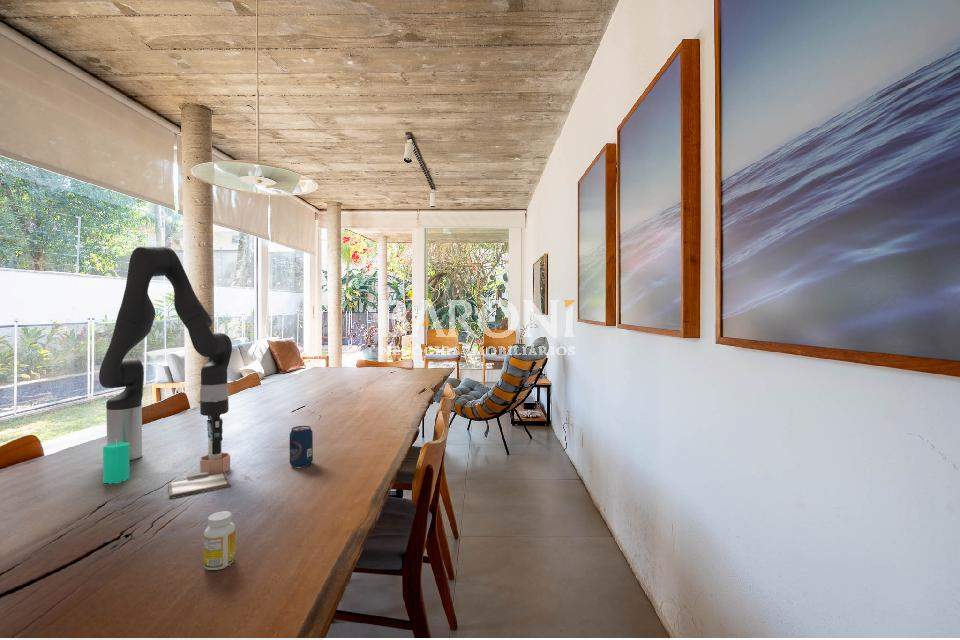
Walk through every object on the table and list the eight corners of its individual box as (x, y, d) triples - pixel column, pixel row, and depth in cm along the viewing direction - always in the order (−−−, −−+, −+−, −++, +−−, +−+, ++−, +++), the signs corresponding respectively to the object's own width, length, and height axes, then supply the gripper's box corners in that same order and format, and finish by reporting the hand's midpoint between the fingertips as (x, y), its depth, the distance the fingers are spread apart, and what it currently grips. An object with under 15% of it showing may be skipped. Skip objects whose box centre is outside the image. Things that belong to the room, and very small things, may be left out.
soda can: (284, 466, 141) (284, 429, 141) (301, 460, 148) (300, 424, 148) (301, 469, 139) (301, 431, 139) (317, 462, 145) (317, 426, 145)
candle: (114, 485, 126) (114, 443, 126) (97, 483, 127) (97, 441, 127) (135, 477, 132) (134, 437, 132) (118, 475, 133) (118, 435, 133)
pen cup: (199, 469, 138) (199, 455, 138) (227, 464, 143) (227, 451, 143) (201, 477, 132) (201, 462, 132) (231, 471, 137) (231, 457, 137)
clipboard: (168, 485, 126) (168, 479, 126) (224, 474, 134) (224, 468, 134) (169, 498, 117) (169, 491, 117) (229, 486, 126) (229, 480, 126)
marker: (207, 468, 138) (207, 430, 138) (221, 466, 140) (221, 428, 140) (208, 472, 135) (208, 433, 135) (222, 469, 137) (222, 431, 137)
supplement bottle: (209, 575, 83) (209, 525, 83) (199, 565, 87) (199, 516, 87) (240, 563, 88) (239, 514, 87) (229, 553, 91) (228, 507, 91)
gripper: (198, 395, 141) (198, 446, 141) (202, 403, 129) (202, 458, 130) (225, 393, 145) (225, 442, 145) (231, 400, 134) (232, 454, 134)
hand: (214, 450), depth 138 cm, fingers open, 8 cm apart
